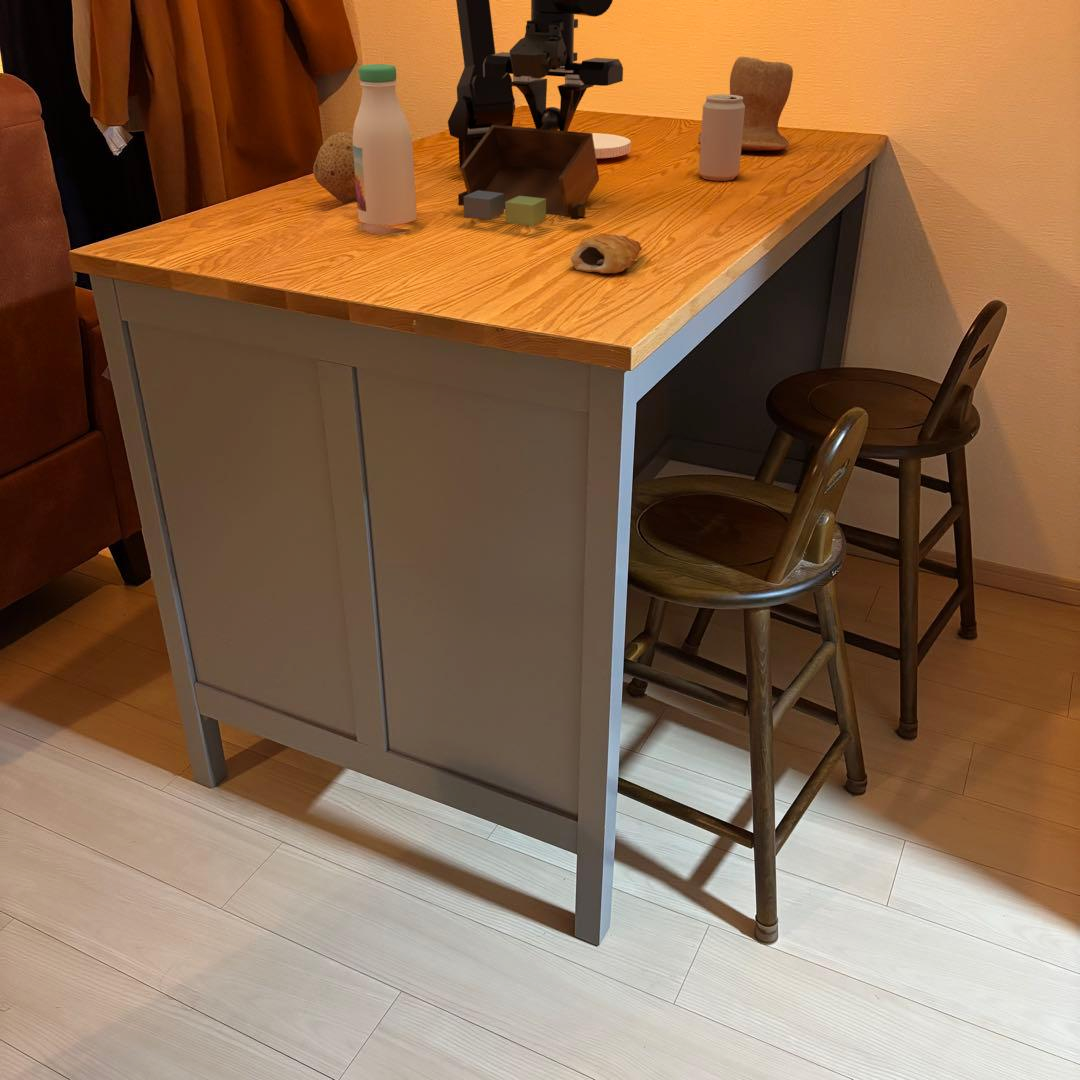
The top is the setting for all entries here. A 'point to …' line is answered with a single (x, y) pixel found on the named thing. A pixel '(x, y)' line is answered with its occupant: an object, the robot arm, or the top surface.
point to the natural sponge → (337, 167)
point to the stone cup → (761, 101)
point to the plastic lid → (610, 145)
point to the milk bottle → (382, 154)
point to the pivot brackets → (576, 211)
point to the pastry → (605, 253)
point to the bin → (535, 164)
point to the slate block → (484, 205)
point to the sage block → (525, 210)
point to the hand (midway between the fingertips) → (551, 135)
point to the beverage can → (721, 137)
